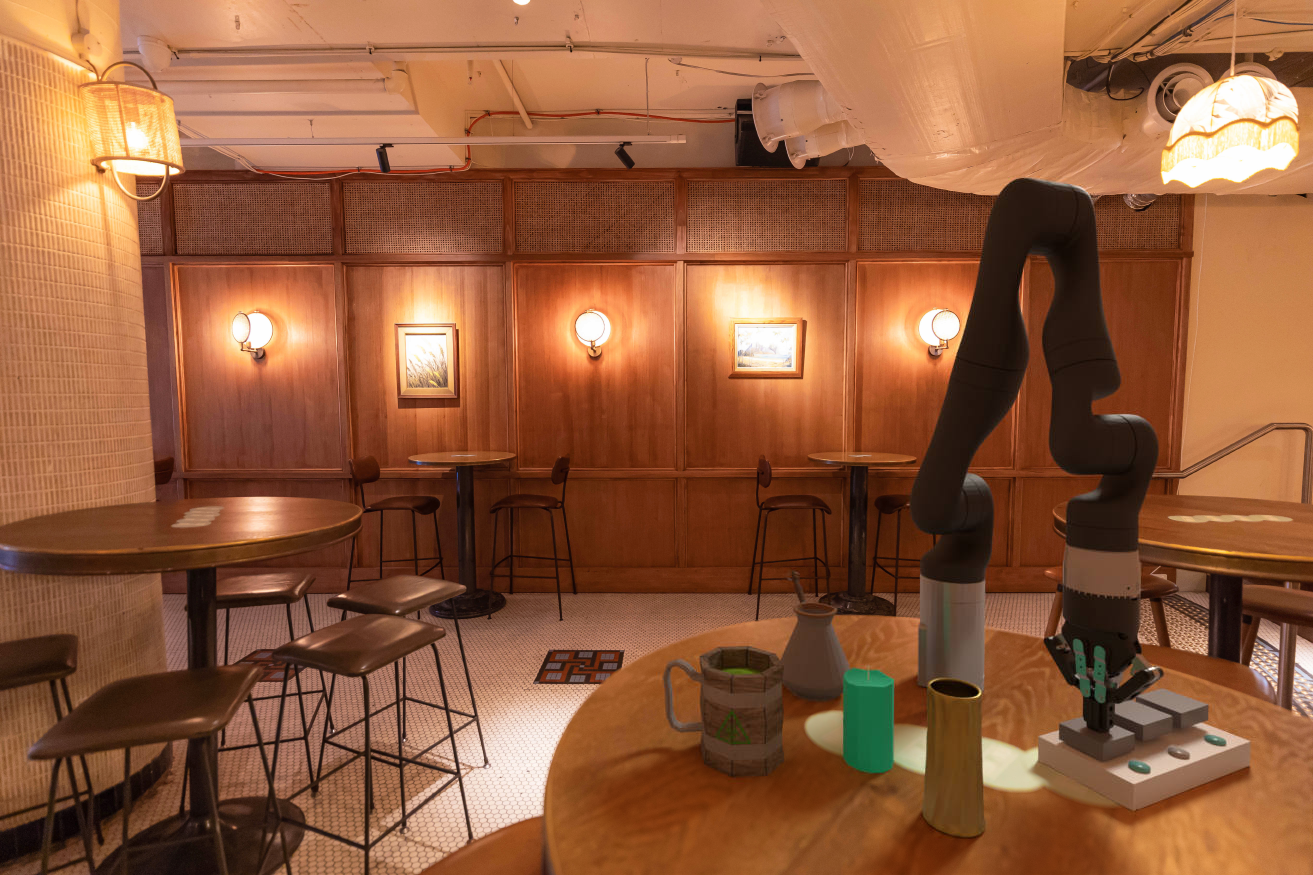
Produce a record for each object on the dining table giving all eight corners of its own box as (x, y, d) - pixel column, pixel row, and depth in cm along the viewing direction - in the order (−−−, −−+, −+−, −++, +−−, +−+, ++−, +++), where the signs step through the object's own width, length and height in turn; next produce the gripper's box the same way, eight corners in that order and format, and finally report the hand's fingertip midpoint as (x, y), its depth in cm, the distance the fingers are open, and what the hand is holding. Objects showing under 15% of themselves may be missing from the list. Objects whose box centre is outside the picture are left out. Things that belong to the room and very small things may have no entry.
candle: (897, 775, 76) (898, 676, 76) (845, 770, 77) (845, 672, 77) (889, 749, 82) (890, 657, 82) (841, 744, 83) (841, 653, 83)
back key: (1180, 729, 78) (1181, 713, 78) (1135, 710, 83) (1135, 695, 83) (1208, 720, 81) (1208, 704, 80) (1162, 702, 85) (1162, 688, 85)
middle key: (1142, 741, 76) (1143, 725, 76) (1097, 722, 80) (1098, 706, 80) (1172, 732, 78) (1172, 715, 78) (1126, 713, 83) (1127, 698, 82)
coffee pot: (863, 706, 94) (863, 605, 93) (785, 708, 94) (784, 606, 93) (824, 651, 115) (824, 568, 114) (760, 652, 115) (760, 569, 114)
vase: (911, 803, 71) (912, 676, 70) (964, 800, 71) (966, 674, 71) (940, 840, 65) (941, 702, 64) (998, 836, 65) (1000, 699, 65)
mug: (789, 739, 85) (789, 650, 84) (777, 785, 75) (777, 684, 74) (676, 721, 90) (675, 637, 89) (650, 762, 80) (649, 667, 79)
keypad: (1133, 811, 69) (1133, 781, 69) (1038, 759, 79) (1038, 733, 79) (1249, 765, 78) (1250, 738, 77) (1150, 724, 88) (1150, 700, 88)
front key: (1102, 760, 73) (1103, 743, 73) (1058, 739, 78) (1059, 722, 78) (1134, 750, 75) (1134, 733, 75) (1089, 729, 80) (1089, 713, 80)
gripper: (1026, 575, 80) (1025, 711, 81) (1141, 603, 68) (1138, 764, 69) (1067, 568, 83) (1065, 700, 84) (1184, 594, 71) (1181, 748, 71)
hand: (1098, 728), depth 76 cm, fingers closed
